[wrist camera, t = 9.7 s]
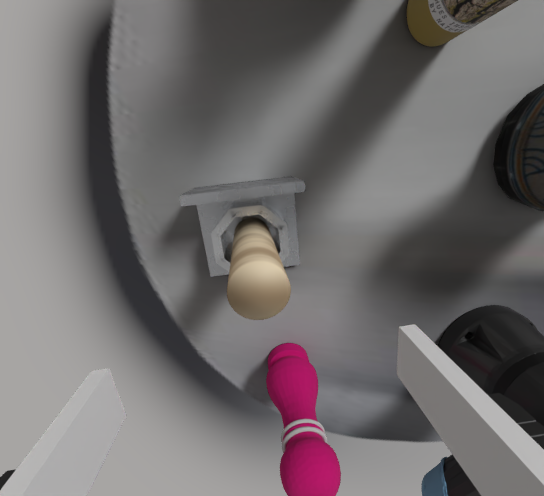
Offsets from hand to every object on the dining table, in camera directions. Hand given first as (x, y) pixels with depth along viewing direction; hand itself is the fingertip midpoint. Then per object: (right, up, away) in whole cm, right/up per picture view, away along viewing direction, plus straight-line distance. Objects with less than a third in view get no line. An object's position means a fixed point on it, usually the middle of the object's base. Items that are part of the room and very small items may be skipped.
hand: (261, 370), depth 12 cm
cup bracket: (-2, +8, +23) cm, 24 cm away
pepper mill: (+3, -12, +30) cm, 32 cm away
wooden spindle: (-2, +7, +22) cm, 23 cm away
